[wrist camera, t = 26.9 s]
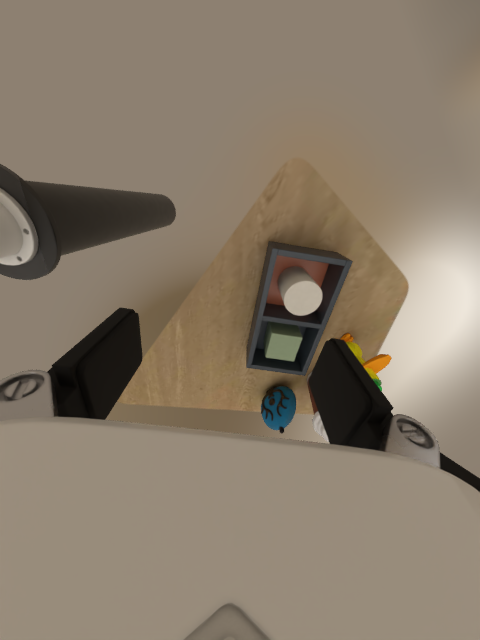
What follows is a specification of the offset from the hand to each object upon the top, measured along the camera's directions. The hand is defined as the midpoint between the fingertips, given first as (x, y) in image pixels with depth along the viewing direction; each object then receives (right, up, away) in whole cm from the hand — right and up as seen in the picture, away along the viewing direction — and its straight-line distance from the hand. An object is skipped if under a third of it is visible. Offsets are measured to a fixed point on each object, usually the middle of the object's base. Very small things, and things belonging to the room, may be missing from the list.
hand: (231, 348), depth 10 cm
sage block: (+8, -1, +28) cm, 29 cm away
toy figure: (+21, -2, +29) cm, 36 cm away
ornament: (+8, -14, +36) cm, 40 cm away
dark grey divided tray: (+8, +4, +26) cm, 28 cm away
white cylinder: (+9, +8, +23) cm, 26 cm away
